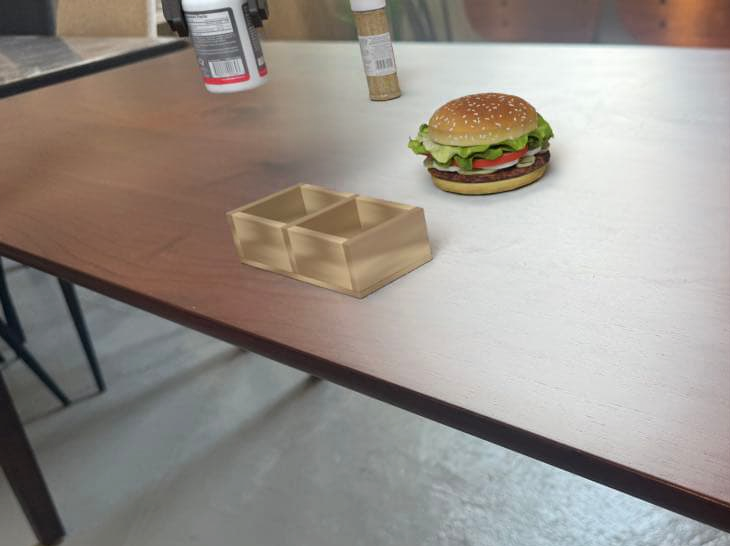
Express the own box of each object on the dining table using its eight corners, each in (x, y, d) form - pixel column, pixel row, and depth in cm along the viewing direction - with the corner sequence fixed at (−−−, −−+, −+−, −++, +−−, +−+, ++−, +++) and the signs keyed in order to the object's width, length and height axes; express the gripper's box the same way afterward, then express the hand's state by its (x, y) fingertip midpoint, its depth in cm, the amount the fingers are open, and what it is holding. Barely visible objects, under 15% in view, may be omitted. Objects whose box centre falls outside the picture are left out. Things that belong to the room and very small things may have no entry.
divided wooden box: (240, 262, 75) (225, 213, 72) (312, 229, 80) (300, 182, 77) (360, 299, 66) (348, 244, 64) (432, 259, 71) (423, 207, 69)
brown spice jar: (400, 91, 123) (382, -13, 115) (402, 98, 119) (384, -8, 112) (368, 95, 122) (347, -8, 115) (369, 103, 118) (349, -4, 111)
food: (402, 174, 91) (388, 96, 87) (525, 148, 95) (517, 72, 90) (438, 213, 80) (424, 127, 76) (575, 182, 84) (570, 98, 80)
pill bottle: (240, 77, 78) (207, -44, 72) (283, 80, 75) (252, -46, 70) (193, 93, 74) (155, -33, 68) (237, 96, 71) (201, -35, 66)
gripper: (83, -177, 69) (110, 7, 65) (266, -195, 71) (300, -17, 67) (119, -103, 76) (144, 66, 73) (283, -121, 78) (315, 43, 75)
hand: (219, 25), depth 70 cm, fingers closed on pill bottle, 5 cm apart
